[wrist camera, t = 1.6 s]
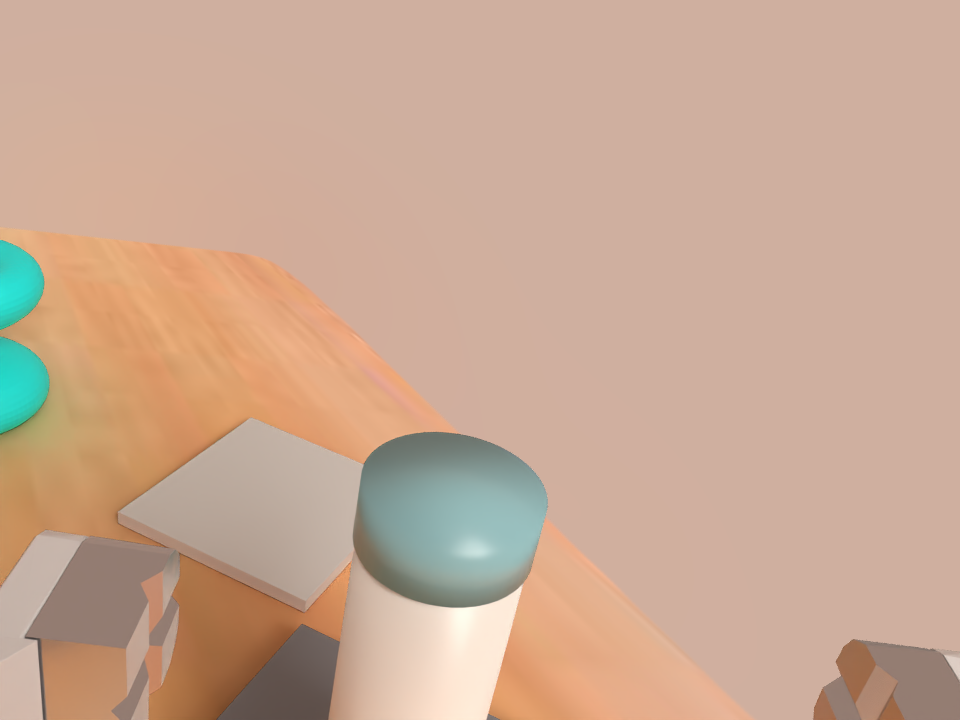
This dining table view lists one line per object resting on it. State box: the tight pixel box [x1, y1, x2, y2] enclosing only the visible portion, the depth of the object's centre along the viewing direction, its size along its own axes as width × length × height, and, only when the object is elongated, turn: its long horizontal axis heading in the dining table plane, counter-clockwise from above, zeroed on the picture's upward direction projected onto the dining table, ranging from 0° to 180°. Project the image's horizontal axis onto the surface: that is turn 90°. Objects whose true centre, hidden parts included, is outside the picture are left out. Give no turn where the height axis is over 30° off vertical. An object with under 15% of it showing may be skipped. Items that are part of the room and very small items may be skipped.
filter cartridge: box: [328, 432, 548, 720], centre depth 29 cm, size 5×5×18 cm
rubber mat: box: [118, 418, 364, 613], centre depth 52 cm, size 12×12×1 cm
